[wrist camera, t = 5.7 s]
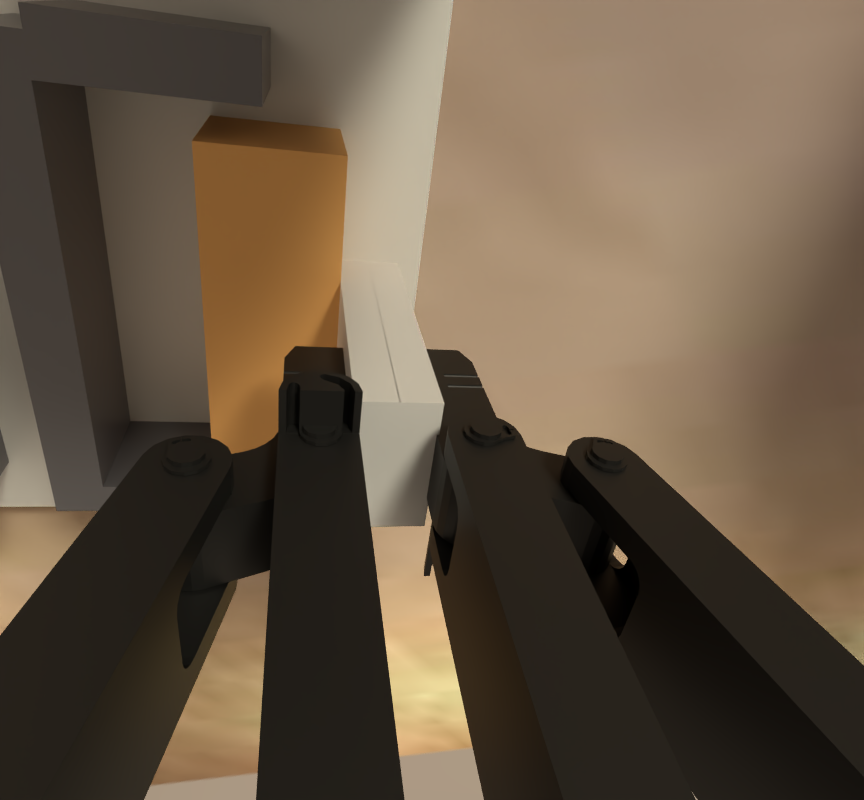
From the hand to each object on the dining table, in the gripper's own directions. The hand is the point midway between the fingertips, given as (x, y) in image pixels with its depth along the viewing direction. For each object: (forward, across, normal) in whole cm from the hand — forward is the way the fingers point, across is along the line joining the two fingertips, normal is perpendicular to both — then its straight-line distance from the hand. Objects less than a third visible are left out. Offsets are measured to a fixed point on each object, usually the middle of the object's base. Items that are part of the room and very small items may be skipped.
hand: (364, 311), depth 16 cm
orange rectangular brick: (+2, -2, 0) cm, 3 cm away
